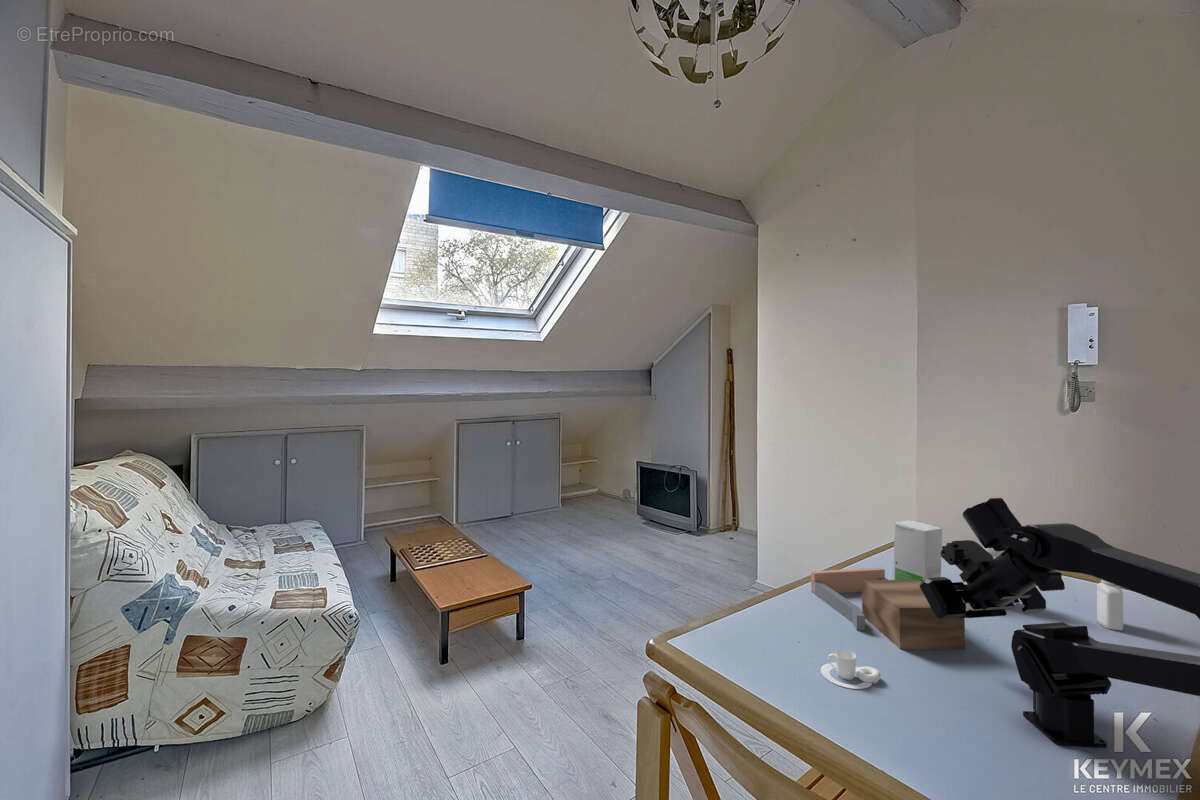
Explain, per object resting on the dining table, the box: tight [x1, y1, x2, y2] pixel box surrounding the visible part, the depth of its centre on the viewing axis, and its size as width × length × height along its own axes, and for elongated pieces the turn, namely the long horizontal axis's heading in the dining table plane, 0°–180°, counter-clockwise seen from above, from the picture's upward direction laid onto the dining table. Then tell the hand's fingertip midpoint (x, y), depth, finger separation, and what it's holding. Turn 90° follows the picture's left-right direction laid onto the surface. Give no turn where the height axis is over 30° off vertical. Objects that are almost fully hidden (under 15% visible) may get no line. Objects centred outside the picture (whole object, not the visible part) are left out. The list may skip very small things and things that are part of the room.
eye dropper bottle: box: [1096, 579, 1124, 632], centre depth 101 cm, size 4×6×12 cm
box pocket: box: [810, 567, 889, 632], centre depth 111 cm, size 20×20×5 cm
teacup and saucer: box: [820, 649, 882, 690], centre depth 84 cm, size 9×8×4 cm
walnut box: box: [861, 579, 966, 650], centre depth 100 cm, size 14×12×8 cm
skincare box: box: [892, 519, 943, 582], centre depth 122 cm, size 8×7×16 cm
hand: (954, 615), depth 89 cm, fingers closed
